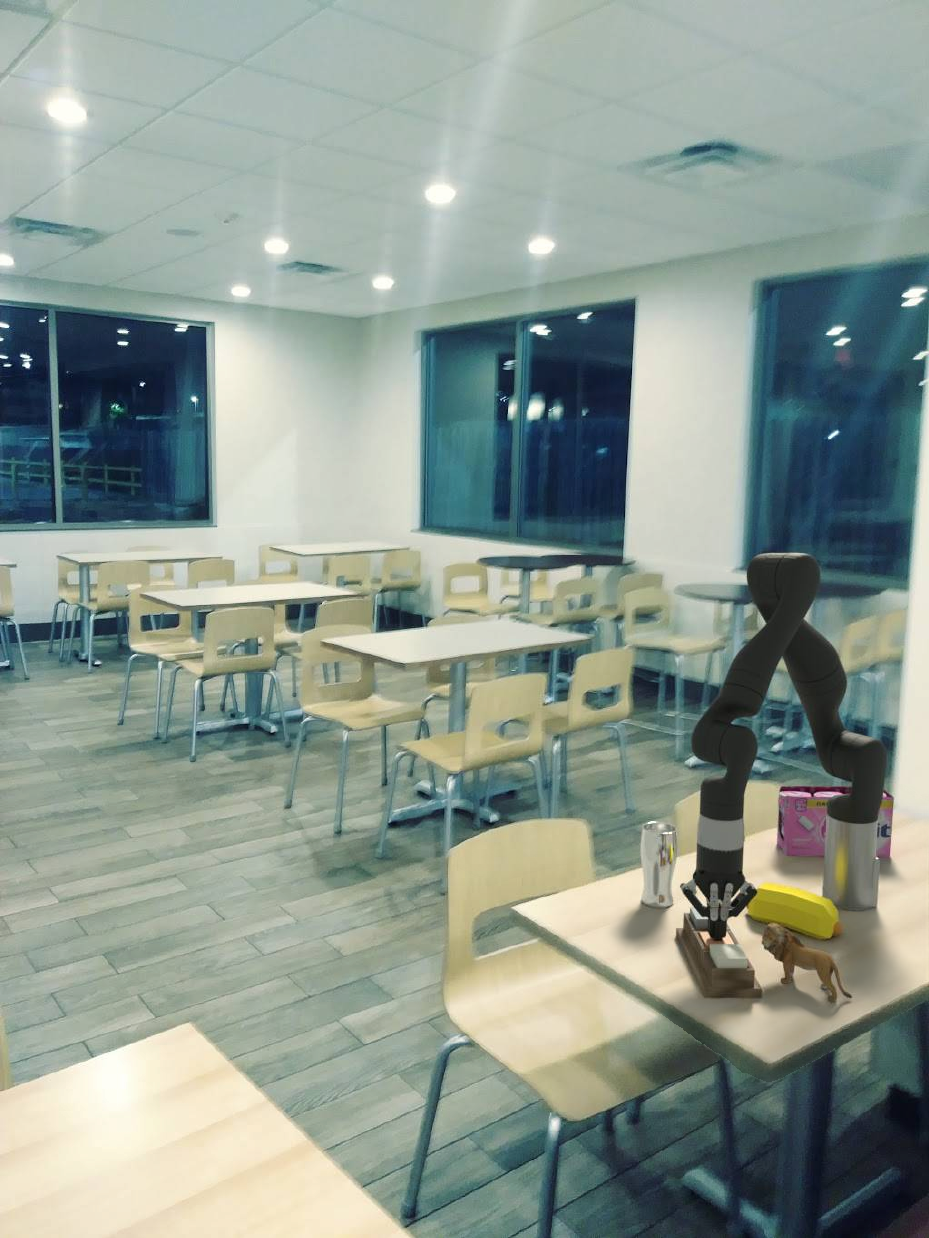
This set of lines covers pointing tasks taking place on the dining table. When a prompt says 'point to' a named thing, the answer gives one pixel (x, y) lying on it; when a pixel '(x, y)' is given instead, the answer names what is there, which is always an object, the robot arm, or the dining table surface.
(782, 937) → the lion figurine
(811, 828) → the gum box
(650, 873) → the beer glass
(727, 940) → the terracotta button
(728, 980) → the button board
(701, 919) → the slate button
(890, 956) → the dining table surface
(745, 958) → the ivory button
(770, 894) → the ripe banana
